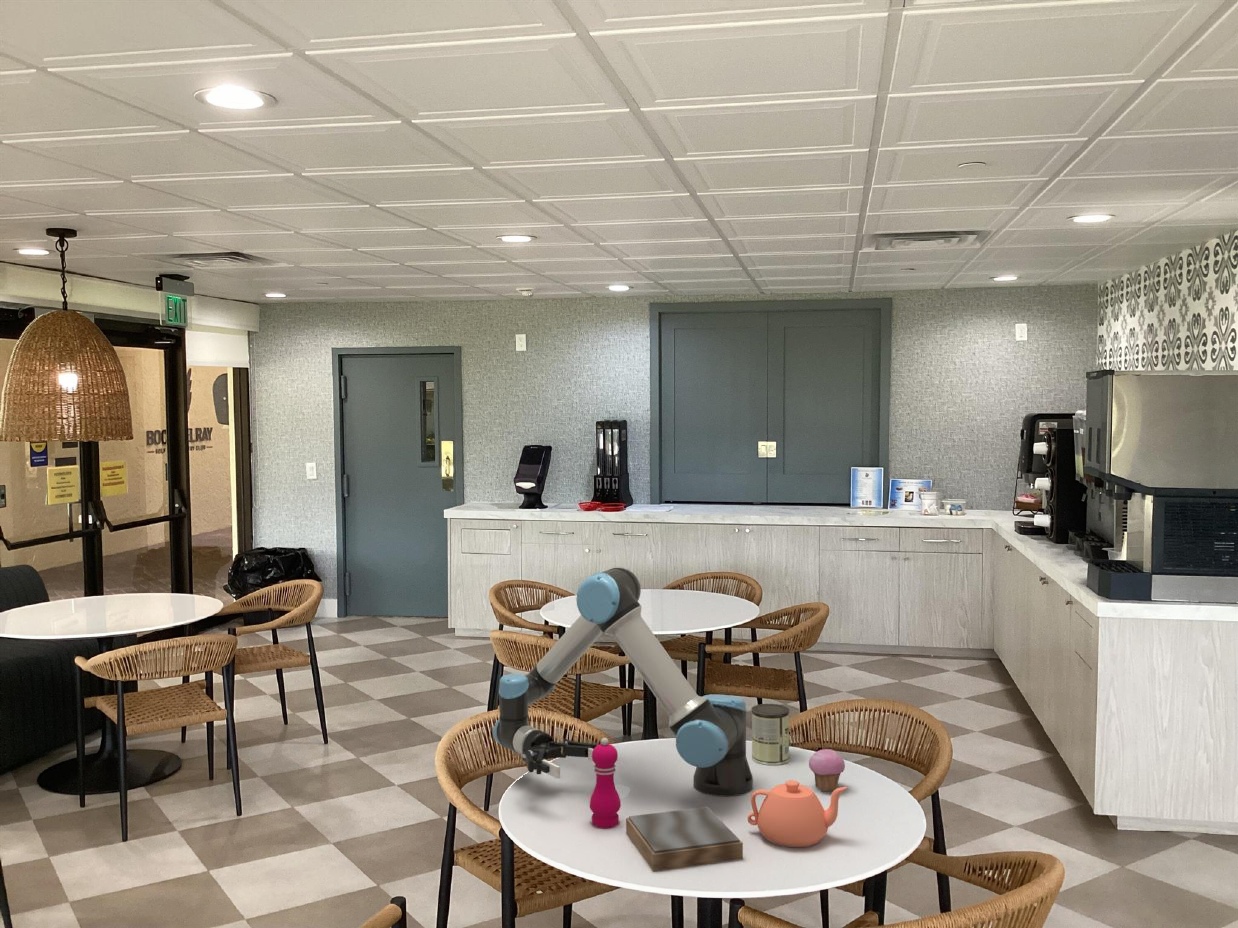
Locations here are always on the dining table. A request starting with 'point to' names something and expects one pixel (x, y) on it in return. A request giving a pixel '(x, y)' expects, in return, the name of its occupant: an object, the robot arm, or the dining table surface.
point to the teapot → (793, 814)
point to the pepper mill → (605, 787)
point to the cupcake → (826, 768)
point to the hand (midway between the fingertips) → (582, 766)
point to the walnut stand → (683, 838)
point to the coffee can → (770, 734)
